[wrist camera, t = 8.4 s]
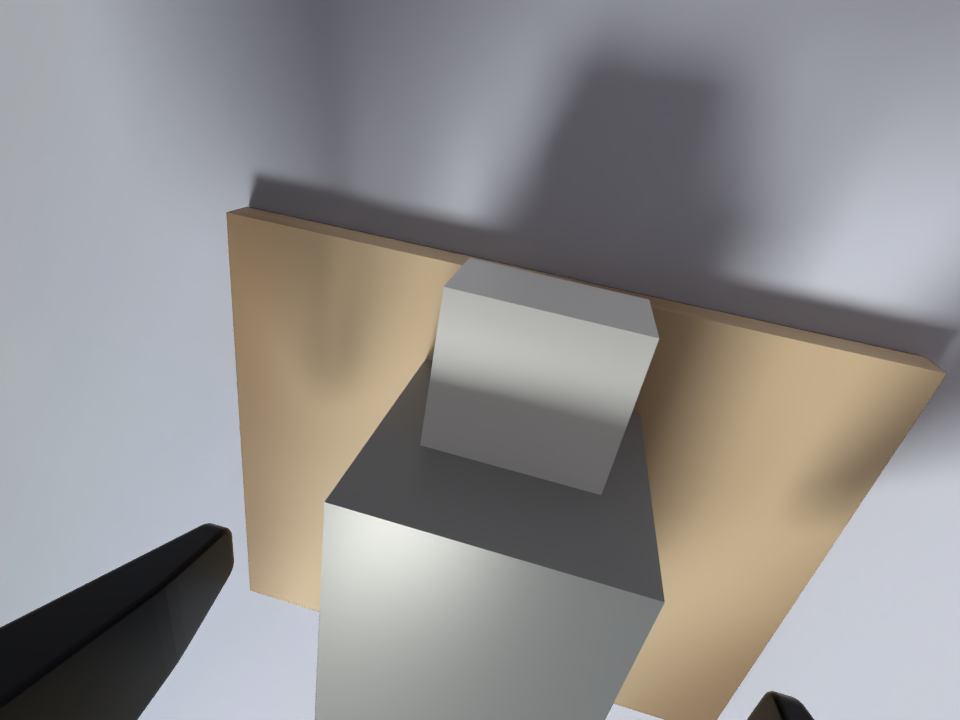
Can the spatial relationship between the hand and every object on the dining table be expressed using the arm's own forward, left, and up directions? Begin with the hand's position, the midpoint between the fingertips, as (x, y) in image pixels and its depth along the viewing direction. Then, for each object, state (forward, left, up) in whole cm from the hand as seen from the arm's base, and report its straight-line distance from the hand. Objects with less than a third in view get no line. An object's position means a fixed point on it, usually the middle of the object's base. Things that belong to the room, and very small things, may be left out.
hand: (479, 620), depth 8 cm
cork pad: (0, 0, -3) cm, 3 cm away
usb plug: (0, 0, -3) cm, 3 cm away
